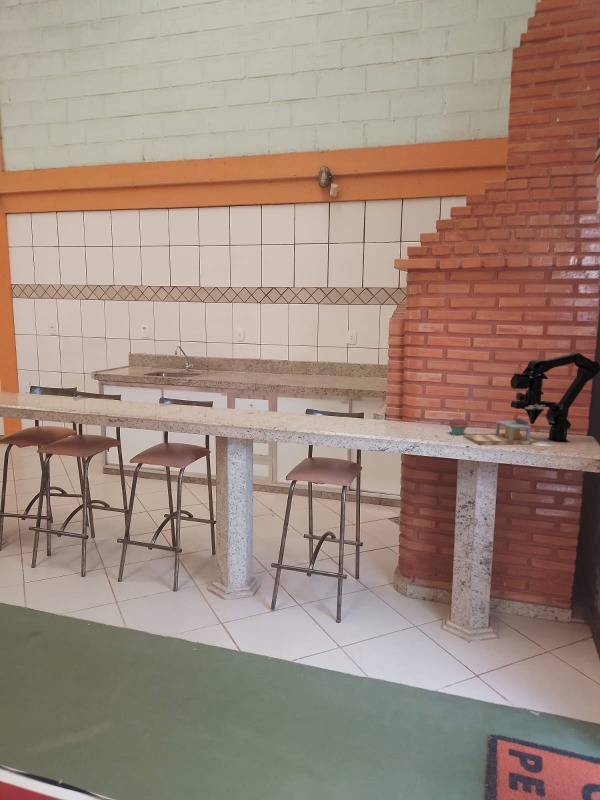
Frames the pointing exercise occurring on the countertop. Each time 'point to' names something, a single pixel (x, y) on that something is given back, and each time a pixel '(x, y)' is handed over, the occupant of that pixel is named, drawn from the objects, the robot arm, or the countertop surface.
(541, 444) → the dish
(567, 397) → the robot arm
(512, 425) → the grey toy table
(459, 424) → the cupcake
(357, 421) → the countertop surface
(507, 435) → the block
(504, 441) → the board
